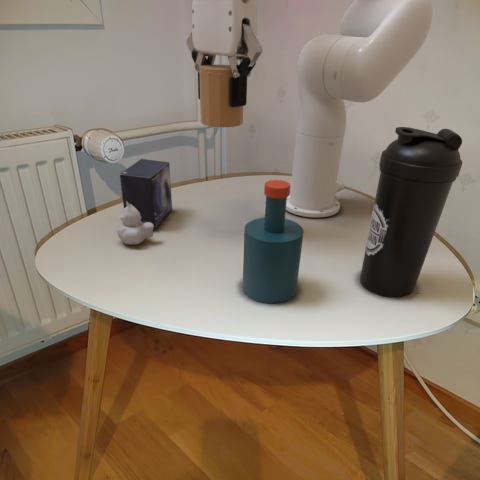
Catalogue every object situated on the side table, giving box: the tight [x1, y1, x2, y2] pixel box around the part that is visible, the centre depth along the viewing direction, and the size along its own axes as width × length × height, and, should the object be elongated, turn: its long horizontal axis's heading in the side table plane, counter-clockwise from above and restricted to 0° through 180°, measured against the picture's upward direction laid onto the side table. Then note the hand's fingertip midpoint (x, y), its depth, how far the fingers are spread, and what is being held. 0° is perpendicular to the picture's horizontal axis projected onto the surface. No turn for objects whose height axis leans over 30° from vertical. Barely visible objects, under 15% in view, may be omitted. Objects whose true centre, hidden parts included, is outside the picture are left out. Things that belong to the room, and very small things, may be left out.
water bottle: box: [359, 126, 463, 299], centre depth 61 cm, size 10×10×23 cm
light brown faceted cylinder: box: [199, 64, 244, 128], centre depth 67 cm, size 7×7×8 cm
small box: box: [119, 158, 173, 231], centre depth 82 cm, size 11×6×10 cm, turn 168°
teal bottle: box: [242, 179, 305, 304], centre depth 60 cm, size 8×8×16 cm
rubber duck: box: [116, 201, 154, 246], centre depth 74 cm, size 5×7×8 cm
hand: (221, 101), depth 68 cm, fingers closed on light brown faceted cylinder, 6 cm apart
